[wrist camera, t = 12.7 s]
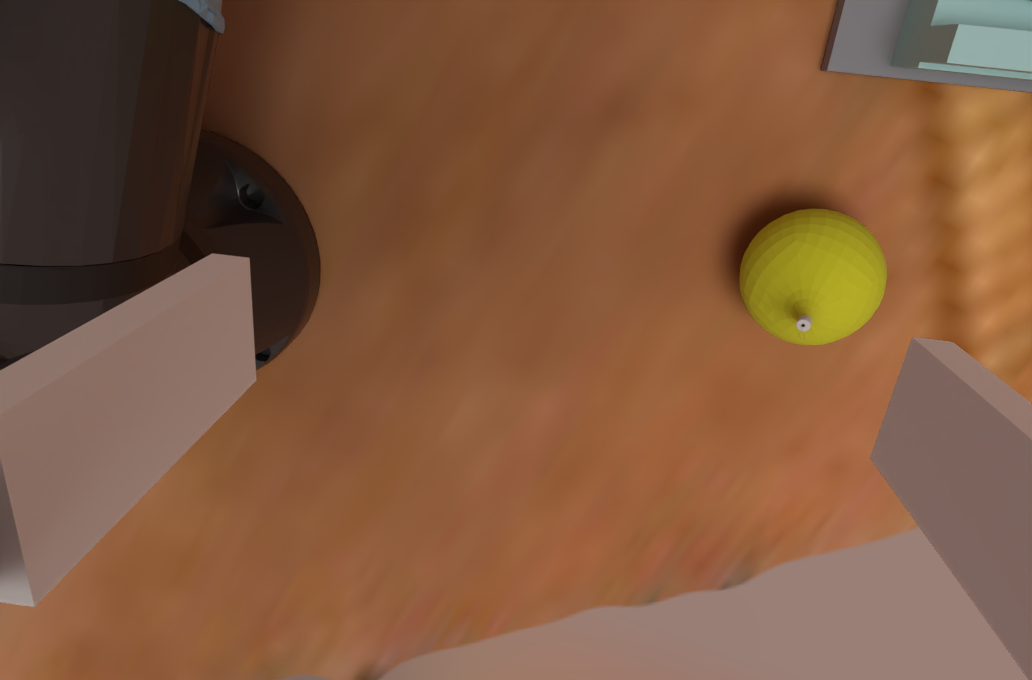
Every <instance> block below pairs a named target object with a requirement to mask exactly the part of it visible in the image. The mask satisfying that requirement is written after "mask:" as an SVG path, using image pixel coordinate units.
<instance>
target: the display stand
mask: <svg viewBox="0 0 1032 680" xmlns="http://www.w3.org/2000/svg"><path fill="white" fill-rule="evenodd" d="M821 70H823V71H833V72H842V73H852V74H861V75H871V76H880V77H890V78H899V79H909V80H918V81H928V82H937V83H947V84H956V85H966V86H975V87H985V88H994V89H1004V90H1013V91H1023V92H1032V1H1030V0H838V4H837V8H836V12H835V16H834V20H833V24H832V28H831V32H830V36H829V40H828V44H827V48H826V52H825V55H824V59H823V63H822V67H821Z"/></svg>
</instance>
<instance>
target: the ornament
mask: <svg viewBox="0 0 1032 680" xmlns="http://www.w3.org/2000/svg"><path fill="white" fill-rule="evenodd" d="M886 280H887V270H886V262H885V259H884V255H883V252H882V249H881V247H880V245H879V243H878V242H877V240H876V239H875V237H874V235H873V234H872V233H871V232H870V231H869V230H868V229H867V228H866V227H865V226H864V225H863V224H861V223H860V222H858V221H857V220H855V219H854V218H852V217H849V216H847V215H845V214H842V213H840V212H837V211H832V210H828V209H813V208H812V209H804V210H797V211H794V212H791V213H788V214H785V215H783V216H781V217H780V218H778V219H776V220H774V221H772V222H770V223H769V224H768V225H766V226H765V227H764V228H763V229H762V230H760V231H759V232H758V234H757V235H756V236H755V237H754V238H753V240H752V241H751V243H750V244H749V246H748V248H747V250H746V251H745V253H744V256H743V259H742V263H741V267H740V278H739V284H740V291H741V296H742V299H743V301H744V304H745V306H746V309H747V310H748V312H749V313H750V315H751V316H752V318H753V319H754V320H755V321H756V322H757V323H758V324H759V325H760V326H761V327H762V328H763V329H764V330H766V331H767V332H769V333H770V334H772V335H774V336H776V337H778V338H780V339H782V340H785V341H788V342H792V343H795V344H803V345H822V344H826V343H831V342H834V341H836V340H839V339H841V338H843V337H846V336H848V335H850V334H852V333H853V332H855V331H856V330H858V329H859V328H861V327H862V326H863V325H864V324H865V323H866V322H867V321H868V320H869V319H870V318H871V316H872V315H873V314H874V312H875V311H876V310H877V308H878V307H879V305H880V302H881V300H882V298H883V295H884V291H885V286H886Z"/></svg>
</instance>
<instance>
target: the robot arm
mask: <svg viewBox="0 0 1032 680" xmlns="http://www.w3.org/2000/svg"><path fill="white" fill-rule="evenodd" d="M221 9H222V0H0V602H3V603H10V604H17V605H24V606H31V607H35V606H36V605H37V604H38V603H39V602H40V601H41V600H42V599H43V598H44V597H45V596H46V595H47V594H48V593H49V592H50V591H51V590H52V589H53V588H54V587H55V586H56V585H57V584H58V583H59V582H60V581H61V580H62V579H63V577H64V576H65V575H66V574H67V573H68V572H69V571H70V570H71V569H72V568H73V567H74V566H75V565H76V564H77V563H78V562H79V561H80V560H81V559H82V558H83V557H84V556H85V555H86V554H87V553H88V552H89V551H90V550H91V549H92V548H93V547H94V546H95V545H96V544H97V543H98V542H99V541H100V540H101V539H102V538H103V537H104V536H105V535H106V534H107V533H108V531H109V530H110V529H111V528H112V527H113V526H114V525H115V524H116V523H117V522H118V521H119V520H120V519H121V518H122V517H123V516H124V515H125V514H126V513H127V512H128V511H129V510H130V509H131V508H132V507H133V506H134V505H135V504H136V503H137V502H138V501H139V500H140V499H141V498H142V497H143V496H144V495H145V494H146V493H147V492H148V491H149V490H150V489H151V488H152V487H153V486H154V484H155V483H156V482H157V481H158V480H159V479H160V478H161V477H162V476H163V475H164V474H165V473H166V472H167V471H168V470H169V469H170V468H171V467H172V466H173V465H174V464H175V463H176V462H177V461H178V460H179V459H180V458H181V457H182V456H183V455H184V454H185V453H186V452H187V451H188V450H189V449H190V448H191V447H192V446H193V445H194V444H195V443H196V442H197V441H198V440H199V438H200V437H201V436H202V435H203V434H204V433H205V432H206V431H207V430H208V429H209V428H210V427H211V426H212V425H213V424H214V423H215V422H216V421H217V420H218V419H219V418H220V417H221V416H222V415H223V414H224V413H225V412H226V411H227V410H228V409H229V408H230V407H231V406H232V405H233V404H234V403H235V402H236V401H237V400H238V399H239V398H240V397H241V396H242V395H243V394H244V393H245V391H246V390H247V389H248V388H249V387H250V386H251V385H252V384H253V383H254V382H255V381H256V370H258V369H259V368H261V367H263V366H264V365H266V364H268V363H269V362H271V361H272V360H273V359H275V358H276V357H277V356H278V355H279V354H280V353H281V352H282V351H283V350H284V349H285V348H286V347H287V346H288V345H289V344H290V343H291V342H292V341H293V340H294V339H295V338H296V337H297V336H298V335H299V333H300V332H301V331H302V329H303V328H304V327H305V325H306V323H307V322H308V320H309V318H310V316H311V314H312V312H313V309H314V306H315V303H316V299H317V296H318V290H319V283H320V260H319V253H318V248H317V243H316V239H315V236H314V232H313V230H312V227H311V224H310V222H309V219H308V217H307V215H306V213H305V211H304V209H303V207H302V206H301V204H300V202H299V201H298V199H297V197H296V196H295V194H294V193H293V192H292V190H291V189H290V188H289V186H288V185H287V184H286V183H285V181H284V180H283V179H282V178H281V177H280V176H279V175H278V174H277V173H276V172H275V171H274V170H273V169H272V168H271V167H270V166H269V165H268V164H267V163H265V162H264V161H263V160H262V159H261V158H259V157H258V156H257V155H255V154H254V153H252V152H251V151H249V150H248V149H246V148H245V147H243V146H241V145H239V144H237V143H236V142H233V141H231V140H229V139H227V138H225V137H222V136H219V135H217V134H214V133H210V132H207V131H203V130H201V125H202V120H203V115H204V109H205V104H206V99H207V94H208V88H209V83H210V78H211V72H212V67H213V62H214V56H215V51H216V46H217V41H218V35H219V34H224V30H225V20H224V18H223V16H222V14H221ZM870 459H871V460H872V462H873V463H874V464H875V466H876V467H877V468H878V470H879V471H880V473H881V474H882V475H883V477H884V478H885V480H886V481H887V482H888V484H889V485H890V487H891V488H892V489H893V491H894V492H895V494H896V495H897V496H898V498H899V499H900V501H901V502H902V503H903V505H904V506H905V508H906V509H907V510H908V512H909V513H910V515H911V516H912V517H913V519H914V520H915V522H916V523H917V524H918V526H919V527H920V529H921V530H922V531H923V533H924V534H925V536H926V537H927V538H928V540H929V541H930V542H931V544H932V545H933V547H934V548H935V550H936V551H937V552H938V554H939V555H940V557H941V558H942V559H943V561H944V562H945V563H946V565H947V566H948V568H949V569H950V570H951V572H952V573H953V575H954V576H955V577H956V579H957V580H958V582H959V583H960V584H961V586H962V587H963V589H964V590H965V591H966V593H967V594H968V596H969V597H970V598H971V600H972V601H973V603H974V604H975V605H976V607H977V608H978V610H979V611H980V612H981V614H982V615H983V616H984V618H985V619H986V621H987V622H988V624H989V625H990V626H991V628H992V629H993V631H994V632H995V633H996V635H997V636H998V637H999V639H1000V640H1001V642H1002V643H1003V645H1004V646H1005V647H1006V649H1007V650H1008V652H1009V653H1010V654H1011V656H1012V657H1013V659H1014V660H1015V661H1016V663H1017V664H1018V666H1019V667H1020V668H1021V670H1022V671H1023V673H1024V674H1025V675H1026V677H1027V678H1028V679H1029V680H1032V403H1030V402H1029V401H1028V400H1027V399H1025V398H1024V397H1023V396H1021V395H1020V394H1019V393H1018V392H1016V391H1015V390H1014V389H1012V388H1011V387H1010V386H1009V385H1007V384H1006V383H1005V382H1003V381H1002V380H1001V379H1000V378H998V377H997V376H996V375H994V374H993V373H992V372H991V371H989V370H988V369H987V368H985V367H984V366H983V365H982V364H980V363H979V362H978V361H976V360H975V359H974V358H973V357H971V356H970V355H969V354H967V353H966V352H965V351H964V350H962V349H961V348H960V347H958V346H957V345H956V344H955V343H953V342H949V341H941V340H932V339H924V338H916V337H912V340H911V342H910V345H909V348H908V351H907V354H906V357H905V360H904V362H903V365H902V368H901V371H900V374H899V377H898V380H897V382H896V385H895V388H894V391H893V394H892V397H891V400H890V402H889V405H888V408H887V411H886V414H885V417H884V420H883V422H882V425H881V428H880V431H879V434H878V437H877V440H876V442H875V445H874V448H873V451H872V454H871V457H870Z"/></svg>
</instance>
